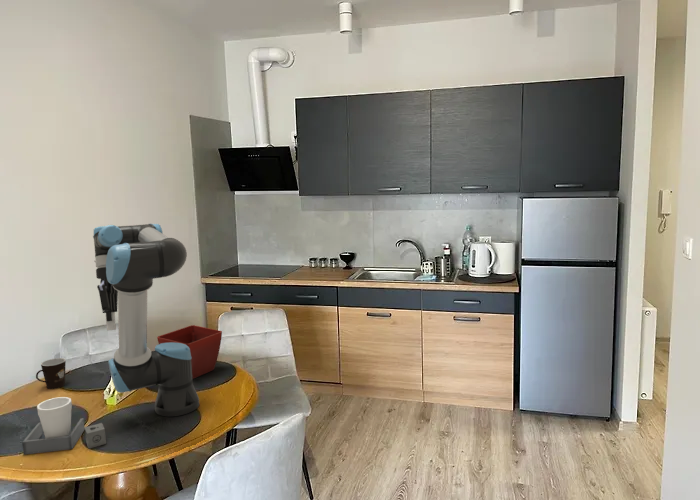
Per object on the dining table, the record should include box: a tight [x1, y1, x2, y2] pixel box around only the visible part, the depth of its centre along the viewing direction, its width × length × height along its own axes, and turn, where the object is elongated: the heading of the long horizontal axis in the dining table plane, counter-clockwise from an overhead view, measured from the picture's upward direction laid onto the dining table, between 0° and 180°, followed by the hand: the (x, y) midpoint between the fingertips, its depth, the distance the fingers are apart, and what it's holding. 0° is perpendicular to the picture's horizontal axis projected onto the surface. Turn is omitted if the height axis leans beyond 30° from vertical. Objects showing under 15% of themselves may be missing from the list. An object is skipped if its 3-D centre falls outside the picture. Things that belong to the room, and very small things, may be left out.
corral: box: [21, 417, 85, 455], centre depth 167 cm, size 14×13×4 cm
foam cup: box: [36, 396, 73, 439], centre depth 166 cm, size 10×9×13 cm
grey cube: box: [84, 422, 107, 449], centre depth 166 cm, size 5×5×5 cm
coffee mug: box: [35, 357, 66, 390], centre depth 211 cm, size 12×9×10 cm
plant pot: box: [156, 324, 223, 380], centre depth 222 cm, size 19×19×17 cm
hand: (111, 330), depth 198 cm, fingers closed
